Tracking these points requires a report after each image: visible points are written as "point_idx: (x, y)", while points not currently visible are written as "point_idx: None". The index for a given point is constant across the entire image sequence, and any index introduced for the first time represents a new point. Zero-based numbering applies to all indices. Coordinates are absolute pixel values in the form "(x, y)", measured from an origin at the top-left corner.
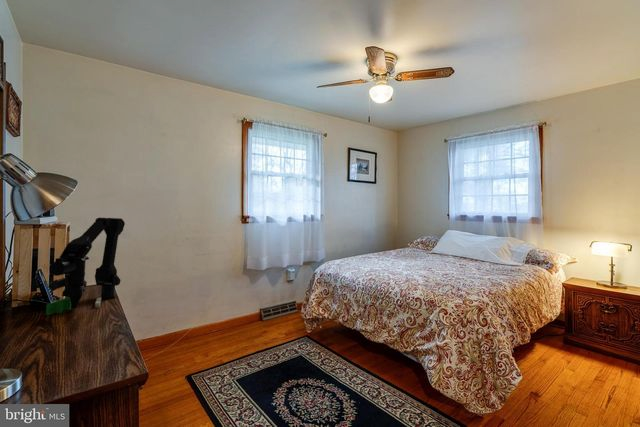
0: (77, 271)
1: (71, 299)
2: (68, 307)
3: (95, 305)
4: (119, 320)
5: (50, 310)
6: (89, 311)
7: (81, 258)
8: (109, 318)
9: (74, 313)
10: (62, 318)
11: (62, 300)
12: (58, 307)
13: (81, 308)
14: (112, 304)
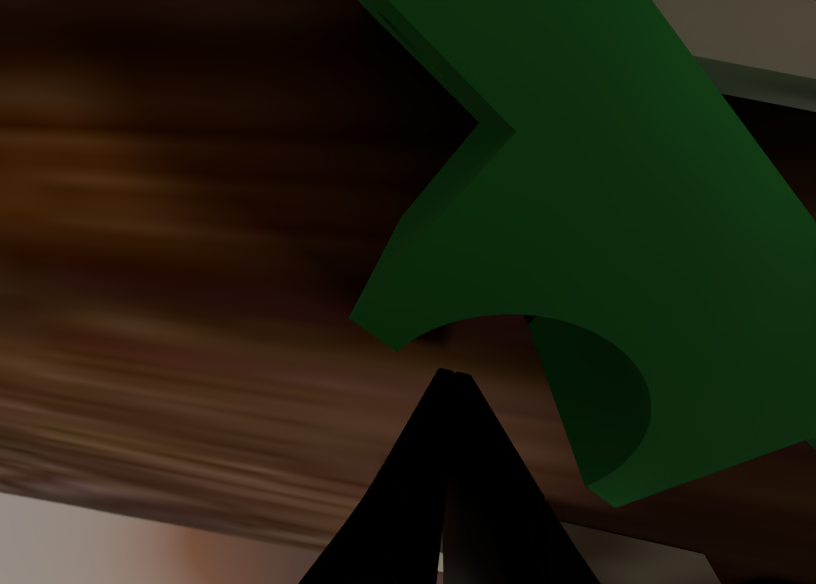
0: None
1: (351, 524)
2: (548, 335)
3: None
4: (21, 488)
5: (374, 9)
6: (317, 440)
7: None
8: (67, 472)
9: (298, 340)
10: (101, 209)
11: (675, 362)
12: (426, 199)
13: None
14: None
